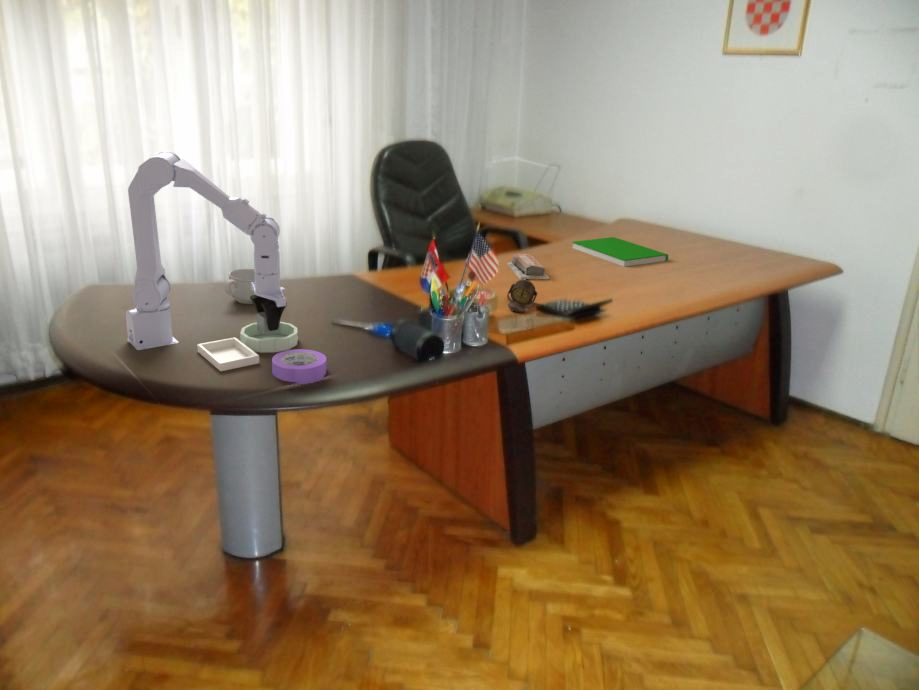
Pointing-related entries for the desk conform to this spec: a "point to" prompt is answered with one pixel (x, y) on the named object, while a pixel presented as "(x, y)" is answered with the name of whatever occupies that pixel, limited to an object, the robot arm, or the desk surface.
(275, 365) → the masking tape
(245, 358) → the parts tray
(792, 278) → the desk surface
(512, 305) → the brown desk clock
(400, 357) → the desk surface
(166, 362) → the desk surface
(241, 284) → the teacup
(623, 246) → the book
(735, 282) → the desk surface
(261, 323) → the grey cube
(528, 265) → the packaged product
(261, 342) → the bowl
